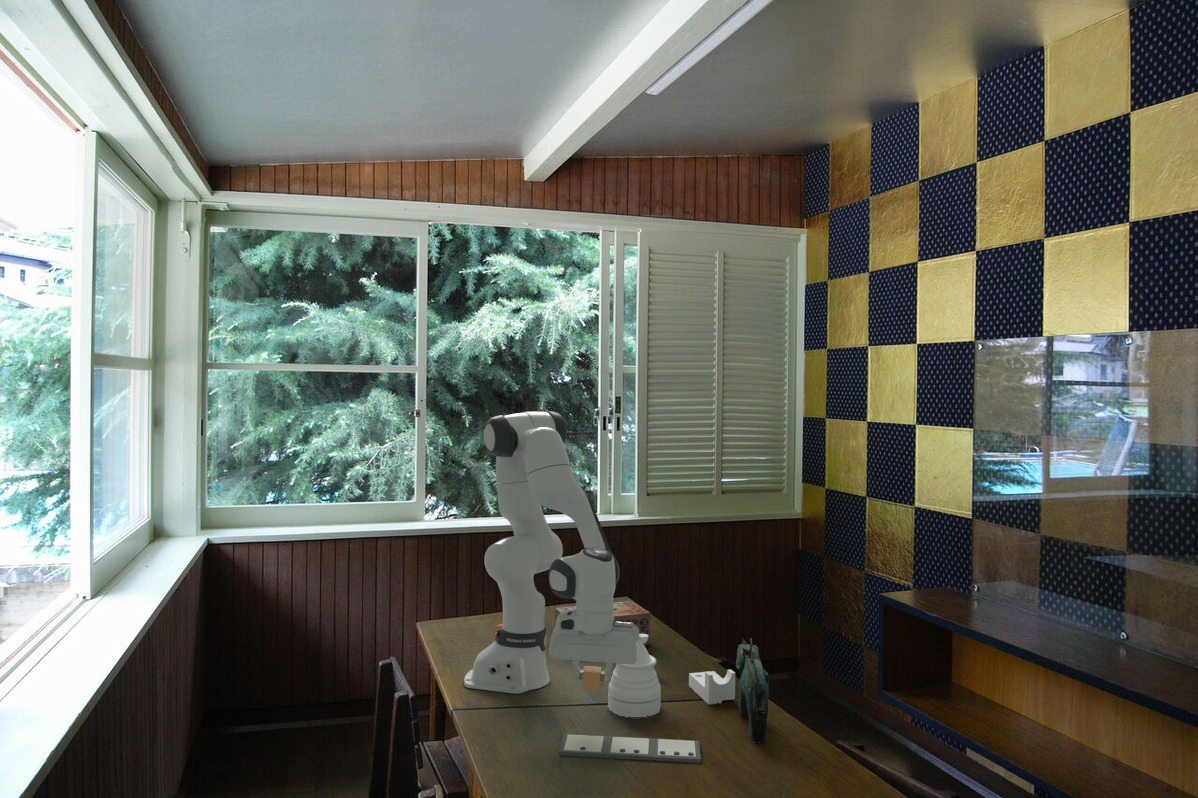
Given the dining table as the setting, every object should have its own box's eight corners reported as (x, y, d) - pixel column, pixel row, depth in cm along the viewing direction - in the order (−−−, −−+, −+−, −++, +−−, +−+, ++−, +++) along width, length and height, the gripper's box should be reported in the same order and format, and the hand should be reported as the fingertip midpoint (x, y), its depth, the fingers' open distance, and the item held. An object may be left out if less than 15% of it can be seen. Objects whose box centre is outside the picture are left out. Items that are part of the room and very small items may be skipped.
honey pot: (666, 701, 205) (667, 630, 205) (652, 721, 193) (653, 645, 193) (617, 694, 209) (618, 624, 209) (600, 713, 197) (602, 639, 197)
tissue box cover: (630, 631, 263) (631, 600, 263) (649, 645, 250) (650, 612, 250) (554, 640, 254) (554, 607, 254) (570, 654, 240) (570, 620, 240)
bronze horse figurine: (733, 709, 201) (735, 628, 201) (760, 710, 201) (761, 628, 201) (745, 745, 181) (747, 654, 181) (775, 745, 181) (776, 655, 181)
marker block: (582, 689, 187) (582, 672, 187) (583, 682, 191) (584, 665, 191) (599, 690, 187) (600, 673, 187) (600, 683, 191) (601, 666, 191)
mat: (558, 755, 175) (558, 749, 175) (563, 737, 184) (563, 732, 184) (700, 763, 172) (700, 757, 172) (698, 744, 181) (699, 738, 181)
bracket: (734, 702, 206) (735, 672, 206) (708, 705, 204) (709, 675, 204) (713, 684, 218) (714, 656, 218) (688, 686, 216) (689, 658, 216)
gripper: (640, 618, 191) (637, 677, 191) (552, 613, 192) (550, 671, 193) (639, 627, 184) (636, 688, 185) (549, 621, 186) (546, 681, 187)
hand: (591, 679), depth 189 cm, fingers closed on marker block, 4 cm apart
